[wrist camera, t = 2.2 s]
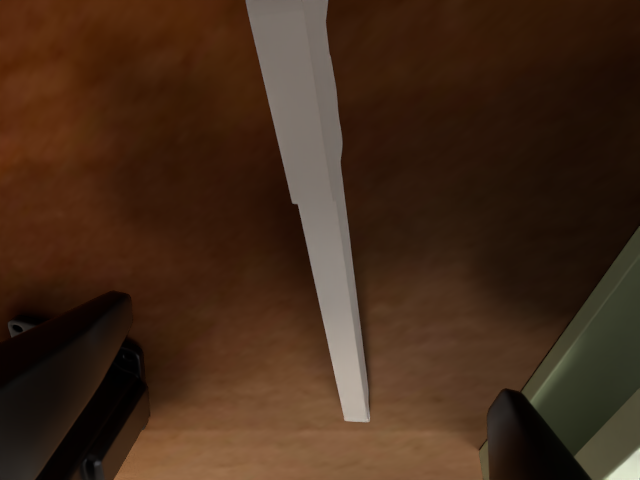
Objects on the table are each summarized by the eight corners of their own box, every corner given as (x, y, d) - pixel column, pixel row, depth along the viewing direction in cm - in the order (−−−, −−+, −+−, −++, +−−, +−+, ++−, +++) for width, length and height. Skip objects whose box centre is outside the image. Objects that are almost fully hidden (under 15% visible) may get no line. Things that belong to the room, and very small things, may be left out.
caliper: (280, -156, 10) (138, -319, 4) (327, -165, 9) (236, -349, 4) (349, 411, 20) (331, 564, 15) (372, 412, 20) (362, 568, 15)
